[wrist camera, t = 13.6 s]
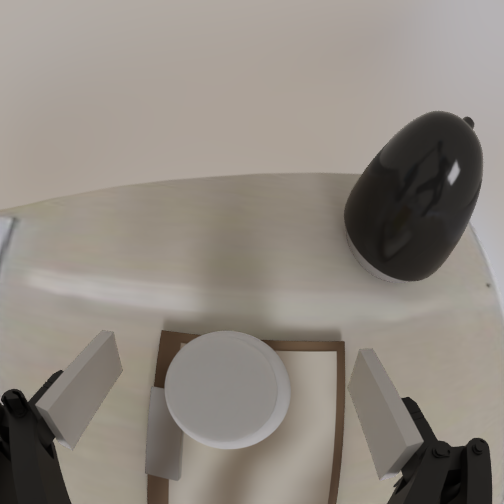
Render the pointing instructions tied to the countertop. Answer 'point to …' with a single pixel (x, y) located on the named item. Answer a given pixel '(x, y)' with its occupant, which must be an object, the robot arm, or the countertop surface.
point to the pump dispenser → (415, 198)
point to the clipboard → (264, 452)
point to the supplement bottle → (227, 389)
